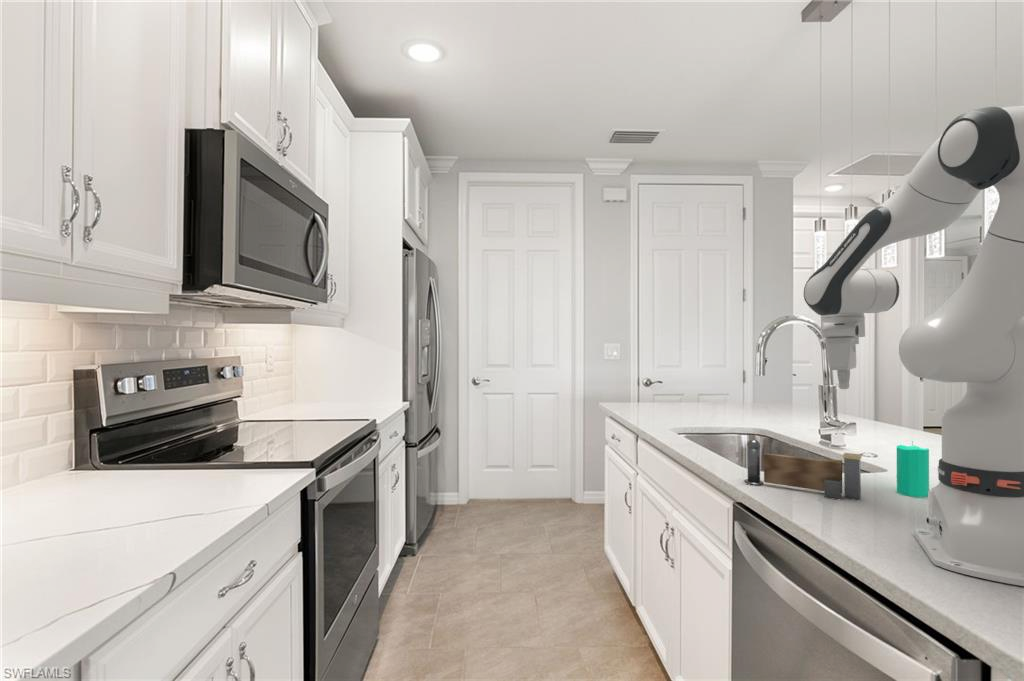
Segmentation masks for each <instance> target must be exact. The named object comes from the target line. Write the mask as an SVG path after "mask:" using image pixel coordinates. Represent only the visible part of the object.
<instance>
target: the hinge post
mask: <svg viewBox="0 0 1024 681" xmlns="http://www.w3.org/2000/svg"><path fill="white" fill-rule="evenodd" d="M746 448H747V449H746V450H747V454H746V456H747V458H746V459H747V479H744V480H743V483H744V482H745V483H747V484H746V485H748V484H750V485H749V486H754V485H755V486H758V487H760V486H763V485H765V482H764V480H763V481H762V480H761V451H760V450H761V443H760V442H759V440H758V439H755V438H751V439H749V440H748V441H747V443H746ZM745 483H744V484H745Z"/></svg>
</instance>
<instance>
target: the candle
mask: <svg viewBox="0 0 1024 681" xmlns="http://www.w3.org/2000/svg"><path fill="white" fill-rule="evenodd" d="M929 490H930V450H929V448H926V447H925V448H923V447H920V446H917V445H914V441H913V440H911V445H910V446H909V445H908V446H907V445H903V444H899V445H896V493H898V494H900V495H902V496H908V497H913V498H928V491H929Z"/></svg>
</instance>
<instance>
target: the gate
mask: <svg viewBox="0 0 1024 681" xmlns="http://www.w3.org/2000/svg"><path fill="white" fill-rule="evenodd" d="M825 478H831V479H839V480H841V495H842V493H843V460H842V459H834V458H831V460H829V459H820V458H809V457H802V456H794V455H793V456H792V455H787V454H775V453H769V452H767V453H766V452H765V453H764V454H763V482H764V483H766V484H767V483H768V484H775V485H781V486H786V487H792V488H793V487H795V488H801V489H807V490H814V491H820V492H821V491H822V492H825V487H824V480H825Z"/></svg>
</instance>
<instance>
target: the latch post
mask: <svg viewBox="0 0 1024 681" xmlns="http://www.w3.org/2000/svg"><path fill="white" fill-rule="evenodd" d="M842 458H843V461H844V462H843V464H844V466H843V467H844V468H843V470H844V471H843V472H844V474H843V475H844V476H843V477H844V478H843V479H844V486H843V487H844V489H843V490H844V492H843V493H844V499H845V498H847V500H852V499H853V501H858V500H860V501H861V499H862V498H861V496H862V495H861V493H862V490H861V488H862V487H861V486H862V485H861V483H862V482H861V481H862V478H861V477H862V476H861V474H862V473H861V470H862V469H861V466H862V465H861V459H862V454H861V453H851V452H844V453H843V455H842ZM824 487H825V491H824V498H825V497H827V498H826V499H831V498H834V499H833V500H837V499H841V500H842V494H841V480H839V479H831V478H825V480H824Z"/></svg>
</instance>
